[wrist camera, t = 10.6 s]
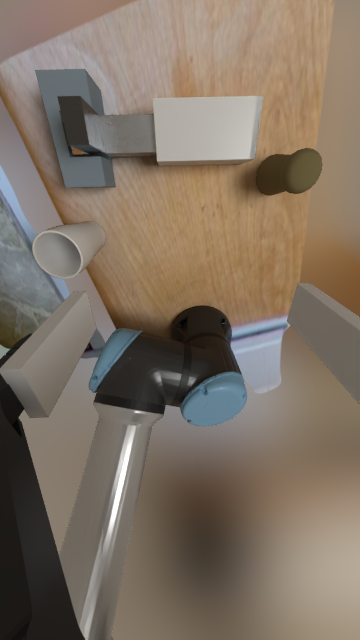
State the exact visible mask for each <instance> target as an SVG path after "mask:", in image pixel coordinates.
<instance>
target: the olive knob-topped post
mask: <svg viewBox="0 0 360 640" xmlns="http://www.w3.org/2000/svg"><path fill="white" fill-rule="evenodd" d="M321 170H322V159H321V156H320V155H319V153H318V152H317V151H315V150H314V149H309V148H305V149H301V150H298V151H296V152H295V153H293V154H292V155H283V154H275V155H271V156H270V157H268V158H266V159H265V160H264V161H263V163H262V164H261V165H260V167H259V169H258V172H257V176H256V183H257V186H258V189H259V190H260V191H261V193H263V194H265V195H274V194H278V193H281V192H285V191H287V192H289V193H293V194H298V193H303V192H305V191H306V190H308V189H310V188H311V187H312V186H313V185H314V184H315V183H316V181H317V180H318V178H319V176H320V173H321Z"/></svg>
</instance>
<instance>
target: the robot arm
mask: <svg viewBox="0 0 360 640" xmlns="http://www.w3.org/2000/svg"><path fill="white" fill-rule="evenodd" d="M287 322H288V323H289V324H290V325H291V326H292V327H293V329H294V330H295V331H296V332H297V333H298V334H299V336H300V337H301V338H302V339H303V340H304V341H305V342H306V344H307V345H308V346H309V347H310V348H311V349H312V350H313V352H314V353H315V354H316V355H317V356H318V357H319V358H320V360H321V361H322V362H323V363H324V364H325V365H326V367H327V368H328V369H329V370H330V371H331V372H332V373H333V374H334V376H335V377H336V378H337V379H338V380H339V382H340V383H341V384H342V385H343V386H344V387H345V388H346V390H347V391H348V392H349V393H350V394H351V395H352V396H353V398H354V399H355V400H356V401H357V402H358V403H360V317H358V316H357V315H356V314H354V313H352V312H351V311H350V310H348V309H347V308H345V307H344V306H342V305H341V304H339V303H338V302H337V301H335V300H334V299H332V298H331V297H329V296H328V295H326V294H325V293H323V292H322V291H320V290H319V289H317V288H316V287H315V286H313V285H311V284H310V283H299V284H297V287H296V291H295V294H294V298H293V301H292V305H291V308H290V312H289V315H288V319H287ZM95 330H96V324H95V321H94V318H93V314H92V310H91V306H90V303H89V300H88V296H87V292H86V291H74V292H73V293H72V294H71V295H70V296H69V297H68V298H67V299H66V300H65V301H64V302H63V303H62V304H61V305H60V306H59V307H58V308H57V309H56V310H55V311H54V312H53V313H52V315H51V316H50V317H49V318H48V319H47V320H46V321H45V322H44V323H43V324H42V325H41V326H40V327H39V328H38V329H37V330H36V331H35V332H34V333H33V334H29V335H27V336H26V337H24V338H22V339H21V340H19V341H18V342H17V343H16V344H15V345H14V346H13V347H12V349H10V350H9V351H8V352H7V353H6V355H4V356H3V357H2V358H1V359H0V640H113V638H112V636H111V632H112V628H113V623H114V618H115V613H116V608H117V603H118V598H119V592H120V587H121V582H122V577H123V572H124V567H125V562H126V557H127V552H128V547H129V542H130V537H131V532H132V526H133V521H134V516H135V511H136V506H137V501H138V496H139V491H140V486H141V481H142V476H143V471H144V466H145V461H146V455H147V450H148V445H149V440H150V435H151V430H152V426H153V425H154V423H156V422H157V421H158V420H160V419H161V418H162V417H163V416H164V410H165V406H166V405H171V406H176V407H180V410H181V413H182V415H183V418H184V419H185V420H187V422H188V423H190V424H193V425H196V426H213V425H217V424H220V423H223V422H225V421H227V420H230V419H232V418H233V417H234V416H236V415H237V414H238V413H239V412H240V411H241V410H242V409H243V407H244V406H245V403H246V400H247V392H246V388H245V384H244V378H243V376H242V374H241V371H240V369H239V366H238V364H237V361H236V359H235V356H234V354H233V351H232V349H231V346H230V345H231V337H232V329H231V325H230V323H229V321H228V319H227V317H226V316H225V314H224V313H222V312H221V311H220V310H218V309H216V308H213V307H210V306H196V307H192V308H189V309H187V310H185V311H184V312H182V313H181V314H180V315H179V316H178V317H177V318H176V319H175V321H174V323H173V325H172V330H171V337H172V339H170V338H166V337H162V336H158V335H154V334H150V333H146V332H143V331H142V330H140V331H138V330H133V329H128V328H119V329H117V330H115V331H114V332H113V333H112V335H111V336H110V337H109V339H108V341H107V342H106V344H105V346H104V348H103V350H102V352H101V354H100V356H99V358H98V360H97V363H96V365H95V368H94V371H93V374H92V377H91V379H90V382H89V389H90V390H91V391H92V392H93V393H94V392H95V393H96V392H97V393H96V397H95V400H94V403H93V404H94V406H95V408H96V410H97V412H98V413H99V421H98V424H97V428H96V431H95V434H94V438H93V441H92V445H91V448H90V452H89V455H88V458H87V462H86V466H85V469H84V472H83V476H82V479H81V483H80V486H79V489H78V493H77V496H76V500H75V504H74V507H73V510H72V513H71V517H70V520H69V524H68V527H67V531H66V534H65V538H64V541H63V545H62V548H61V551H60V555H58V551H57V548H56V544H55V540H54V537H53V533H52V530H51V526H50V523H49V519H48V515H47V512H46V508H45V505H44V501H43V498H42V494H41V490H40V487H39V483H38V479H37V476H36V472H35V469H34V465H33V462H32V458H31V454H30V451H29V447H28V444H27V440H26V437H25V433H24V429H23V426H22V422H21V421H20V420H19V418H18V417H19V416H20V414H21V413H22V411H23V410H25V411H26V413H27V414H28V416H29V417H30V418H40V417H49V415H50V413H51V411H52V410H53V408H54V406H55V404H56V402H57V400H58V398H59V397H60V395H61V393H62V391H63V389H64V387H65V386H66V383H67V382H68V380H69V378H70V376H71V374H72V373H73V371H74V369H75V367H76V365H77V363H78V361H79V360H80V358H81V356H82V354H83V352H84V350H85V349H86V347H87V345H88V343H89V341H90V339H91V338H92V336H93V334H94V332H95Z"/></svg>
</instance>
